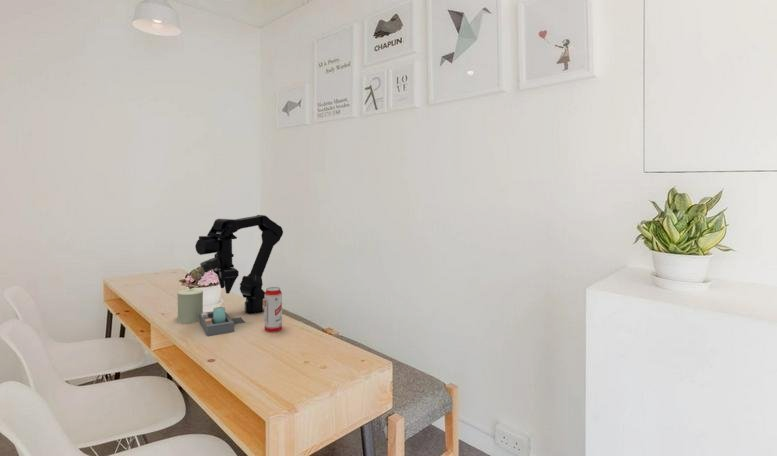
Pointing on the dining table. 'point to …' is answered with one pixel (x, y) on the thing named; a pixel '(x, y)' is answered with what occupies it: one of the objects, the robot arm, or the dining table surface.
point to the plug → (219, 315)
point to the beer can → (273, 309)
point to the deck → (238, 320)
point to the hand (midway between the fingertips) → (225, 290)
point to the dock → (214, 329)
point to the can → (189, 305)
